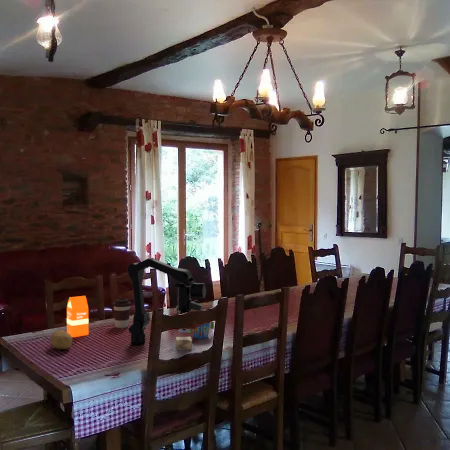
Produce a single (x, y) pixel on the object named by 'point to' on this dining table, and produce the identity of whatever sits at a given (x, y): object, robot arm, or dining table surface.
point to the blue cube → (184, 330)
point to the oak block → (183, 343)
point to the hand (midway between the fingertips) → (183, 328)
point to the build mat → (183, 349)
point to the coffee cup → (121, 312)
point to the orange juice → (77, 316)
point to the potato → (61, 339)
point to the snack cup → (202, 331)
